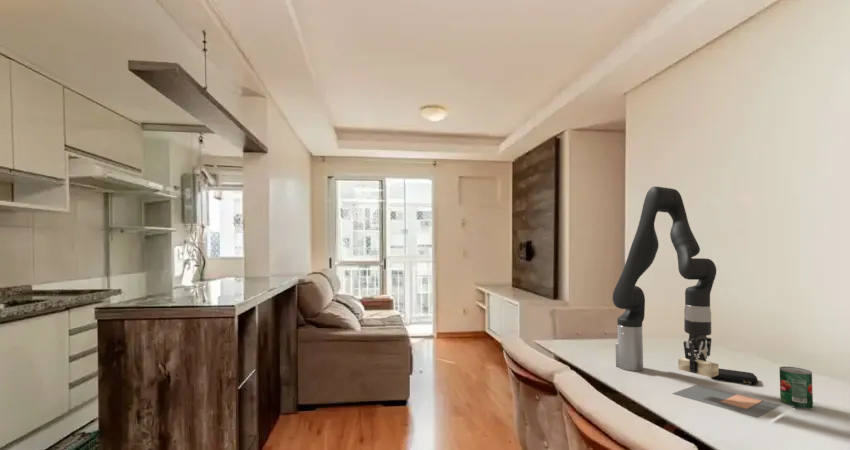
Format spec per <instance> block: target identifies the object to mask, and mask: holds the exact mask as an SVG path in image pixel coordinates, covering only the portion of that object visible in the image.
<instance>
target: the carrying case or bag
mask: <svg viewBox="0 0 850 450" xmlns="http://www.w3.org/2000/svg"><path fill="white" fill-rule="evenodd" d="M718 370H719V375H717V376H714V377H710V379H712V380H714V381H721V382H727V383H735V384H742V385H748V384H749V385H750V386H756V385H757V384H758V383H759V380H758V377H757V376H756V375H755V374H754V373H752V372H749V371H741V370H734V369H725V368H719V367H718ZM749 385H748V386H749Z"/></svg>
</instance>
